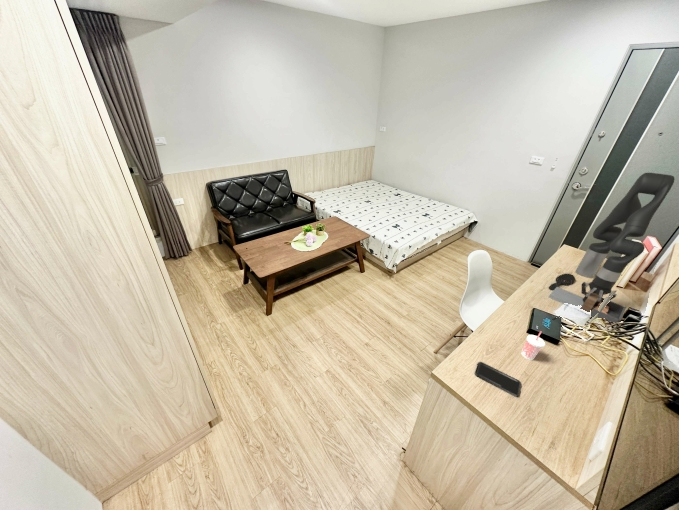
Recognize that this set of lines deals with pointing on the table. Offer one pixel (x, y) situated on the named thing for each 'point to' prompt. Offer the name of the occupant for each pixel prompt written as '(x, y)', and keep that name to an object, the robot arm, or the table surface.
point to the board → (566, 297)
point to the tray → (611, 312)
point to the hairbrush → (565, 277)
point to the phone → (498, 379)
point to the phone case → (579, 327)
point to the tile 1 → (604, 308)
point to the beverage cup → (532, 346)
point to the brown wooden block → (590, 302)
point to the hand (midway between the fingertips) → (589, 303)
